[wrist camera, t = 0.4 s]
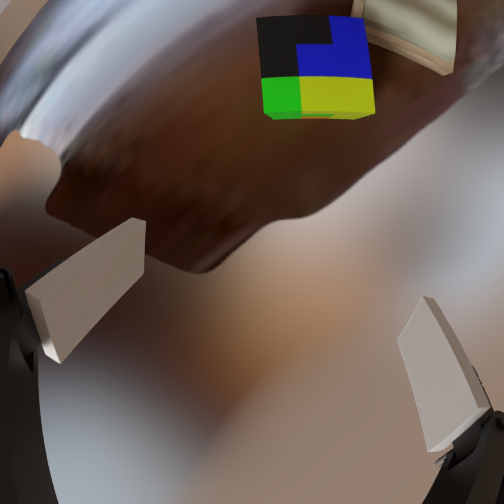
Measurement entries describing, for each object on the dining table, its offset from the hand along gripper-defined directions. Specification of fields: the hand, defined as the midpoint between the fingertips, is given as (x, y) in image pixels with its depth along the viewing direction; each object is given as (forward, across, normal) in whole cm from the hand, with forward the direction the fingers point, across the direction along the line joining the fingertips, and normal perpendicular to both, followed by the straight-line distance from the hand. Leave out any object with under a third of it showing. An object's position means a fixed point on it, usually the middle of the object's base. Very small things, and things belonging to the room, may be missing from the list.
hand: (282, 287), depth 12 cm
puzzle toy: (+25, -1, +14) cm, 29 cm away
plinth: (+25, +9, +28) cm, 39 cm away
